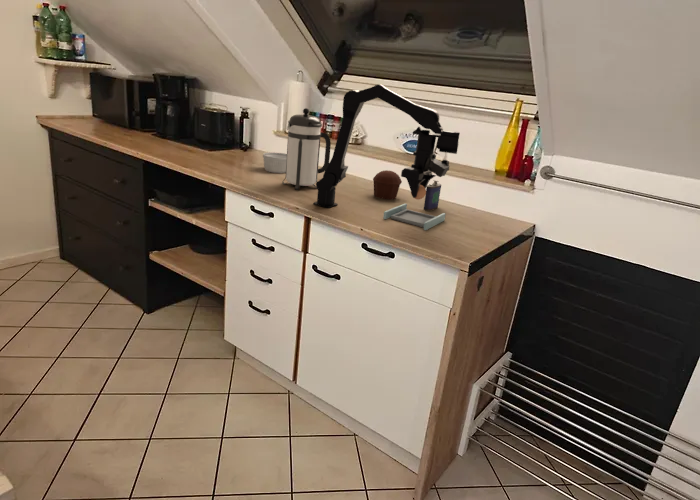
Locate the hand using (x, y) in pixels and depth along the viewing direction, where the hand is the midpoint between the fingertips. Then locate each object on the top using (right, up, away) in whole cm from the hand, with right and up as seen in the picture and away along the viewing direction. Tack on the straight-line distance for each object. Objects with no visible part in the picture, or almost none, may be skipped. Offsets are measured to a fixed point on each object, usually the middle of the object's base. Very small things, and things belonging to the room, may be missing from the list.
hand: (417, 196), depth 165 cm
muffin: (-9, +3, +29) cm, 31 cm away
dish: (-1, -8, +3) cm, 8 cm away
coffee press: (-41, +8, +32) cm, 53 cm away
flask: (+8, -3, +19) cm, 21 cm away
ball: (0, +1, 0) cm, 2 cm away
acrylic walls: (-1, -8, +3) cm, 8 cm away
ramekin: (-55, +17, +54) cm, 79 cm away
